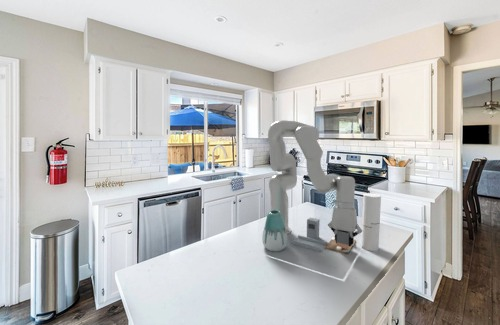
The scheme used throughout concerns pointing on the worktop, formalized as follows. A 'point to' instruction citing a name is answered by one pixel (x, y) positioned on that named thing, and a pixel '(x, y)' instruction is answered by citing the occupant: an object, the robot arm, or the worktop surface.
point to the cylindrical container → (371, 221)
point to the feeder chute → (310, 243)
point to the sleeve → (343, 239)
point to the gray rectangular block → (313, 228)
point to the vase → (274, 232)
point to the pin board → (333, 246)
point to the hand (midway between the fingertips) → (343, 243)
